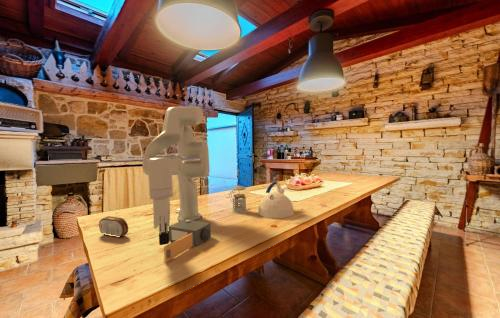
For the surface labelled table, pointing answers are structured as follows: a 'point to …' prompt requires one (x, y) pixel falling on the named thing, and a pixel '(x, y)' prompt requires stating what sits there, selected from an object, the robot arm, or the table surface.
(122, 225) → the tin
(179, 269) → the table surface
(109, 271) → the table surface
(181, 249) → the side door
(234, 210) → the french press
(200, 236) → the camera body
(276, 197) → the kettle
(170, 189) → the robot arm
